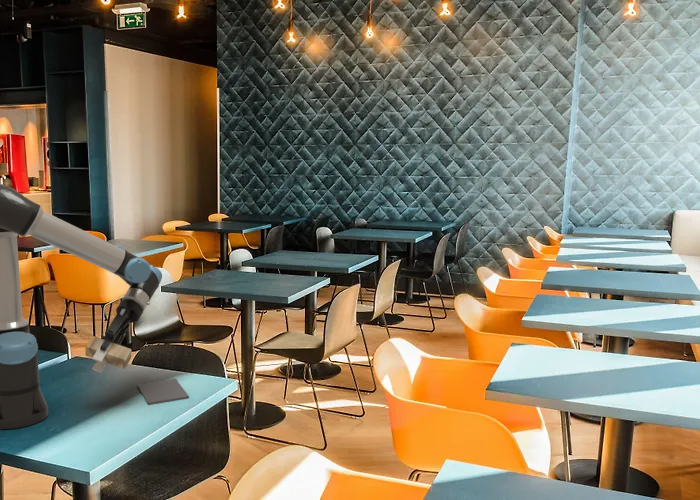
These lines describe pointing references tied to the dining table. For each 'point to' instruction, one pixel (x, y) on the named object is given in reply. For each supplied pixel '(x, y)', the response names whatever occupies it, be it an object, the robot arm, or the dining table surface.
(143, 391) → the rubber mat
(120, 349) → the maple block
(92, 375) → the dining table surface
